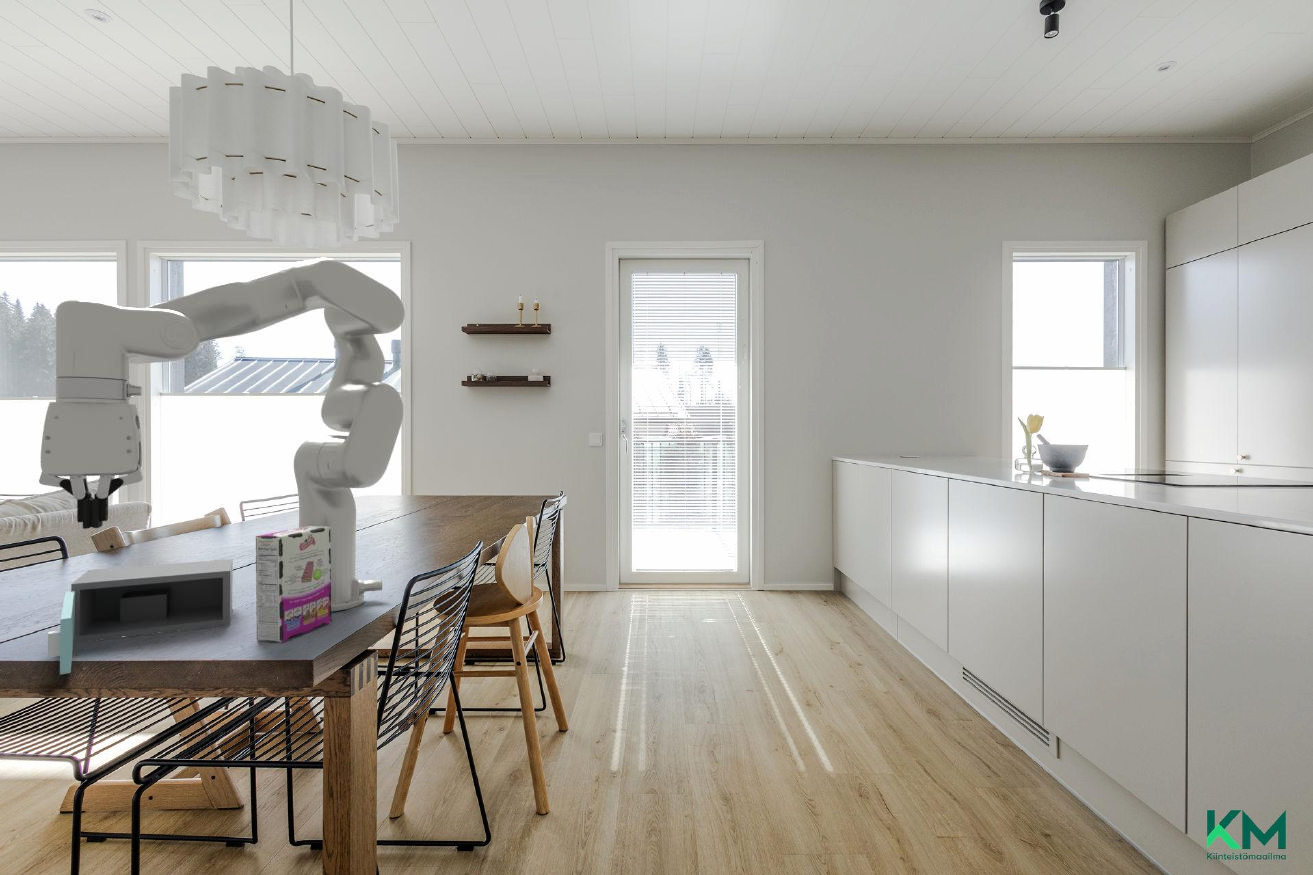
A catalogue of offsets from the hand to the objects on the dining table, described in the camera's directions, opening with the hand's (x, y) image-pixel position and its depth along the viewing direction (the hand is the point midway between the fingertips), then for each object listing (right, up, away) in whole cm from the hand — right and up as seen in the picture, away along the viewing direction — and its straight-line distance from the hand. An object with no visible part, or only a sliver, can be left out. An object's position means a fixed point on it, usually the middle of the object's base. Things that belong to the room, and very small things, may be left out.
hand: (92, 526), depth 89 cm
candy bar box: (+19, -19, +15) cm, 31 cm away
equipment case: (-6, -19, +19) cm, 27 cm away
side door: (-5, -18, +1) cm, 19 cm away
